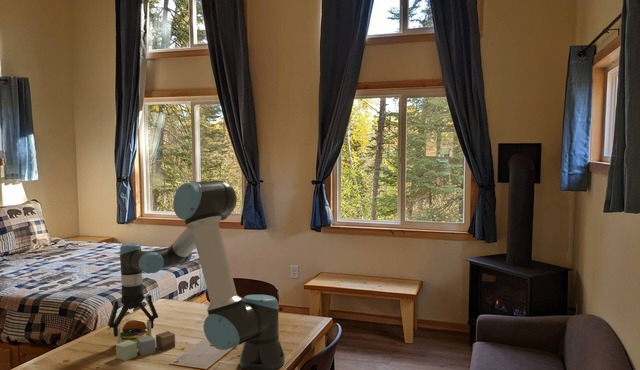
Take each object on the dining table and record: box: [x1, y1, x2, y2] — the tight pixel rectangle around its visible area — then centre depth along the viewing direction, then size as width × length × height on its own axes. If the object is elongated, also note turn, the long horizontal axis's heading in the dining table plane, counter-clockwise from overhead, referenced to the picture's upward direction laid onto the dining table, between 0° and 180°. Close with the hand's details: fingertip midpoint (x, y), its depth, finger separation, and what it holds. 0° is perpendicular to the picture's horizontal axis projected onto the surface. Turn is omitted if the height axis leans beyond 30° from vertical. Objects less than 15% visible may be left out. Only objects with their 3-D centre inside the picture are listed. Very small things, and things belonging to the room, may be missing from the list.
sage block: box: [115, 340, 138, 362], centre depth 172 cm, size 5×5×5 cm
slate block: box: [137, 334, 156, 356], centre depth 177 cm, size 5×5×5 cm
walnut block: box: [155, 331, 176, 352], centre depth 181 cm, size 5×5×5 cm
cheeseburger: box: [120, 319, 148, 347], centre depth 185 cm, size 10×11×10 cm
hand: (134, 340), depth 186 cm, fingers closed on cheeseburger, 11 cm apart
